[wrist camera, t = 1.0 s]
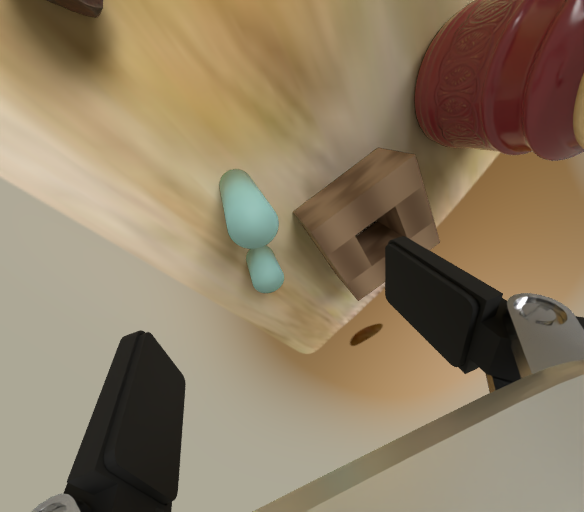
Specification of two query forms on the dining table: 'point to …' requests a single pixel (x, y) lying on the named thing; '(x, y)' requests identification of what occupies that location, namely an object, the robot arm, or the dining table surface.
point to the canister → (507, 79)
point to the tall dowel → (247, 211)
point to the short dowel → (264, 270)
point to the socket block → (369, 217)
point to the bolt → (82, 6)
